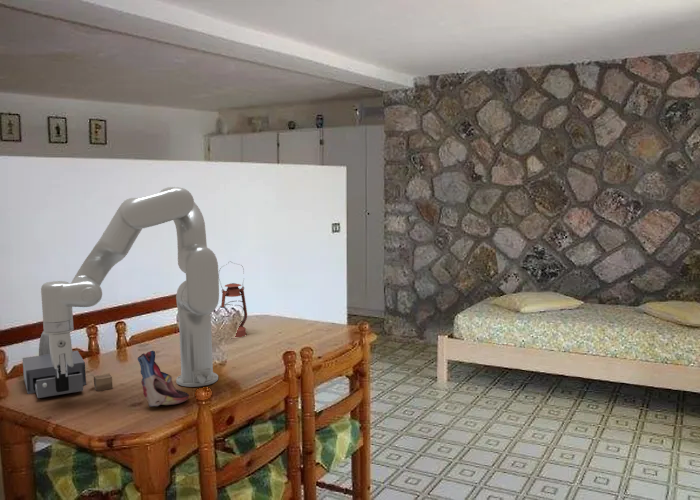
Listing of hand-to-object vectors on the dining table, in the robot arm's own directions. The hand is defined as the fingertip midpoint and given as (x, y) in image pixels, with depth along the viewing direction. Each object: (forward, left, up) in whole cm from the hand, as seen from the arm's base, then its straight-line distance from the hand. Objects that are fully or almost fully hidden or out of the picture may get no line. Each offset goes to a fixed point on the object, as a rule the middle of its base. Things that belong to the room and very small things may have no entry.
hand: (62, 390), depth 179 cm
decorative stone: (+39, -2, -4) cm, 40 cm away
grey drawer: (+13, 0, -3) cm, 13 cm away
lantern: (+49, -68, -4) cm, 84 cm away
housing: (+22, 0, -4) cm, 23 cm away
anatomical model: (-17, -24, -4) cm, 30 cm away
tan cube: (+8, -12, -4) cm, 15 cm away
